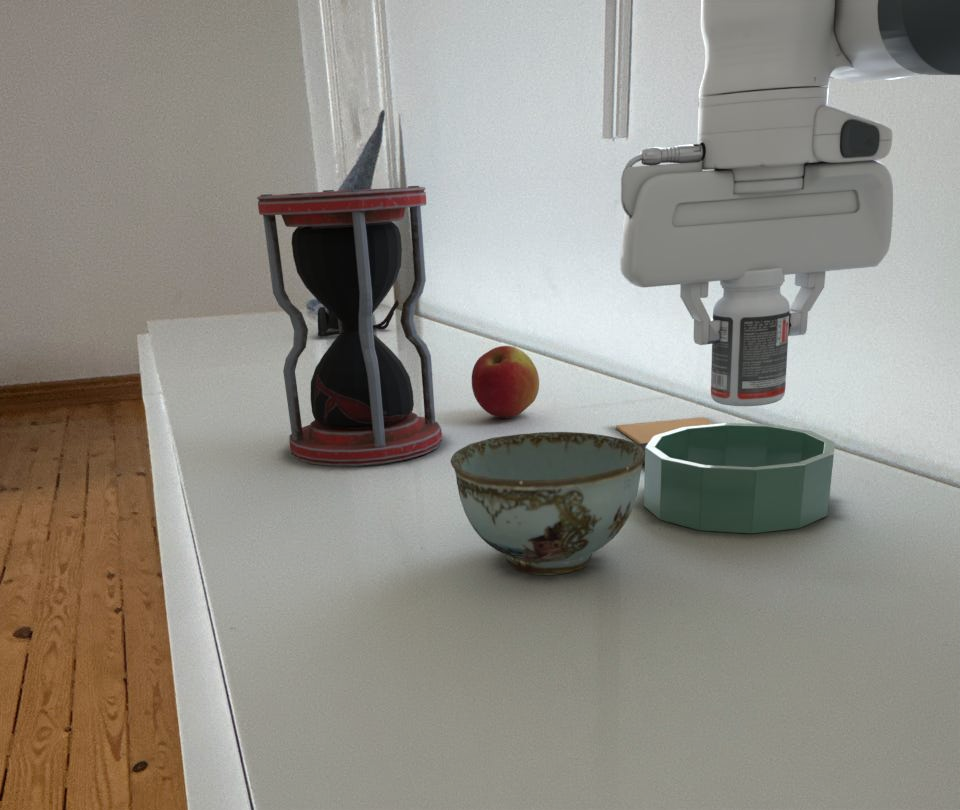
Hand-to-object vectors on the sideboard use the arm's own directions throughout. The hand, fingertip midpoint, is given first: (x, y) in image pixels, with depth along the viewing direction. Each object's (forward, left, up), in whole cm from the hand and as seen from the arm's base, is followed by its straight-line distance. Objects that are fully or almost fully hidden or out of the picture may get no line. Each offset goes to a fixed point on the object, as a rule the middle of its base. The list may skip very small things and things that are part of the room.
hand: (750, 339), depth 77 cm
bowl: (+18, +8, -13) cm, 24 cm away
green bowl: (0, 0, -13) cm, 13 cm away
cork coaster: (-4, -24, -13) cm, 28 cm away
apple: (+11, -39, -13) cm, 43 cm away
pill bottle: (0, 0, -5) cm, 5 cm away
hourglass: (+28, -31, -13) cm, 44 cm away
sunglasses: (+21, -120, -13) cm, 123 cm away
